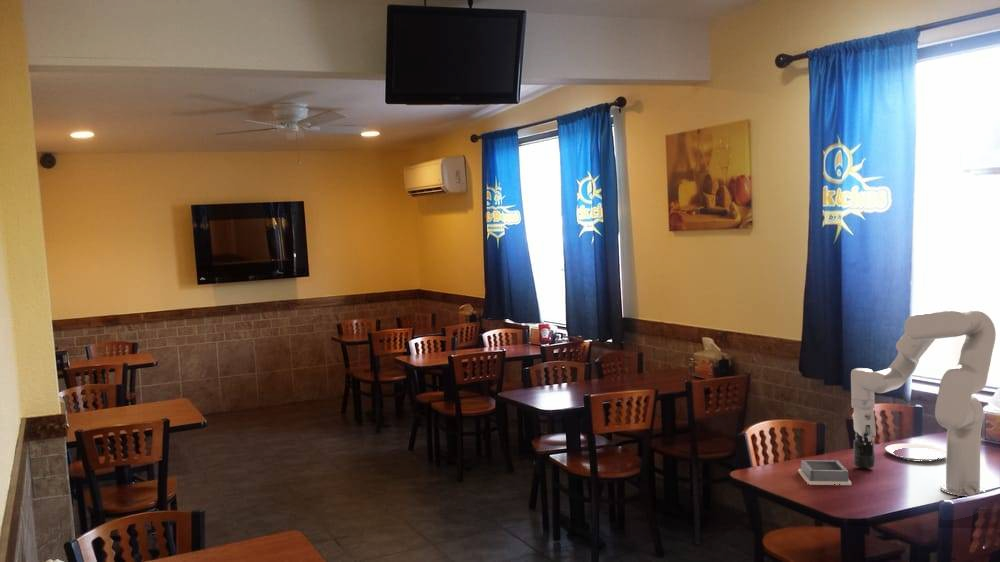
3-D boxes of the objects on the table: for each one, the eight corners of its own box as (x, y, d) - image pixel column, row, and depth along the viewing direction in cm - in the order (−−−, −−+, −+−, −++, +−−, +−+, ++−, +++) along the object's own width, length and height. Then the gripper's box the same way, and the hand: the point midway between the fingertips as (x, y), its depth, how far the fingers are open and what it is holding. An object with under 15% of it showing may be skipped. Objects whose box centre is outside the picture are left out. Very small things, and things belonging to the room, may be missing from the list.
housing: (851, 485, 271) (851, 472, 271) (808, 484, 273) (808, 471, 273) (839, 472, 285) (839, 459, 285) (798, 471, 287) (798, 459, 286)
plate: (884, 461, 297) (884, 455, 297) (886, 446, 315) (886, 441, 315) (948, 468, 287) (948, 461, 287) (947, 452, 306) (947, 446, 305)
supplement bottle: (878, 468, 284) (877, 434, 284) (858, 468, 284) (858, 435, 284) (869, 462, 291) (869, 429, 291) (850, 463, 291) (850, 430, 291)
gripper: (882, 408, 278) (883, 459, 279) (866, 398, 295) (867, 446, 296) (859, 408, 279) (860, 459, 280) (844, 398, 296) (845, 446, 297)
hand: (864, 452), depth 288 cm, fingers closed on supplement bottle, 6 cm apart
